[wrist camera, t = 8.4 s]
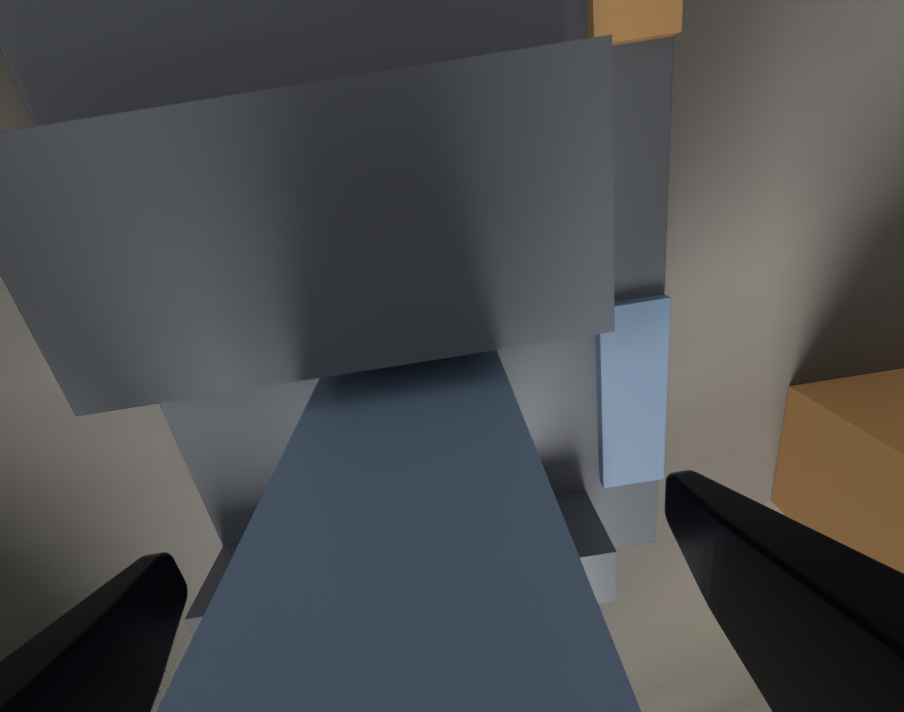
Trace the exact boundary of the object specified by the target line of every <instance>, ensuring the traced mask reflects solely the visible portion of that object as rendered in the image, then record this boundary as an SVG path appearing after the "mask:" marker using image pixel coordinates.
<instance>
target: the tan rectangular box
mask: <svg viewBox="0 0 904 712" xmlns="http://www.w3.org/2000/svg"><path fill="white" fill-rule="evenodd" d="M771 501H772V502H773V503H774V504H775V505H776V506H777V507H778V508H779V509H780V510H781V511H782V512H783V513H784V514H785V515H786V516H787V517H789V518H791V519H793V520H795V521H797V522H799V523H801V524H803V525H805V526H807V527H809V528H811V529H813V530H815V531H817V532H819V533H822V534H824V535H826V536H828V537H830V538H832V539H834V540H836V541H838V542H840V543H842V544H844V545H846V546H848V547H850V548H852V549H854V550H856V551H858V552H860V553H862V554H864V555H867V556H869V557H871V558H873V559H875V560H877V561H879V562H881V563H883V564H885V565H887V566H889V567H891V568H893V569H895V570H897V571H899V572H901V573H903V574H904V368H901V369H895V370H889V371H882V372H876V373H870V374H863V375H857V376H851V377H844V378H838V379H832V380H825V381H819V382H813V383H806V384H800V385H794V386H789V390H788V396H787V403H786V409H785V415H784V422H783V428H782V435H781V441H780V448H779V454H778V460H777V467H776V473H775V480H774V486H773V493H772V499H771Z"/></svg>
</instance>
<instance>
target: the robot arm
mask: <svg viewBox="0 0 904 712" xmlns="http://www.w3.org/2000/svg"><path fill="white" fill-rule="evenodd" d="M665 515H666V519H667V522H668V524H669V526H670V528H671V531H672V533H673V535H674V537H675V539H676V541H677V543H678V545H679V547H680V549H681V551H682V553H683V555H684V557H685V560H686V562H687V564H688V566H689V568H690V570H691V572H692V574H693V576H694V578H695V580H696V582H697V584H698V587H699V589H700V591H701V593H702V595H703V597H704V599H705V600H706V602H707V604H708V606H709V608H710V610H711V611H712V613H713V615H714V617H715V618H716V620H717V622H718V623H719V625H720V626H721V628H722V630H723V631H724V633H725V635H726V636H727V638H728V640H729V641H730V643H731V644H732V646H733V648H734V649H735V651H736V653H737V654H738V656H739V658H740V659H741V661H742V662H743V664H744V666H745V667H746V669H747V671H748V672H749V674H750V676H751V677H752V679H753V680H754V682H755V684H756V685H757V687H758V689H759V690H760V692H761V694H762V695H763V697H764V698H765V700H766V702H767V703H768V705H769V707H770V708H771V710H772V712H904V574H903V573H901V572H899V571H897V570H895V569H893V568H891V567H889V566H887V565H885V564H883V563H881V562H879V561H877V560H875V559H873V558H871V557H869V556H867V555H864V554H862V553H860V552H858V551H856V550H854V549H852V548H850V547H848V546H846V545H844V544H842V543H840V542H838V541H836V540H834V539H832V538H830V537H828V536H826V535H824V534H822V533H819V532H817V531H815V530H813V529H811V528H809V527H807V526H805V525H803V524H801V523H799V522H797V521H795V520H793V519H791V518H789V517H787V516H785V515H783V514H781V513H779V512H776V511H774V510H772V509H770V508H768V507H766V506H764V505H762V504H760V503H758V502H756V501H754V500H752V499H750V498H748V497H746V496H744V495H742V494H740V493H738V492H736V491H734V490H731V489H729V488H727V487H725V486H723V485H721V484H719V483H717V482H715V481H713V480H711V479H709V478H707V477H705V476H703V475H701V474H699V473H697V472H694V471H691V470H686V471H680V472H673V473H670V474H669V475H668V476H667V478H666V488H665ZM186 599H187V585H186V582H185V580H184V578H183V576H182V574H181V572H180V570H179V568H178V566H177V564H176V562H175V560H174V558H173V557H172V556H171V555H170V554H169V553H157V554H151V555H146V556H143V557H141V558H139V559H138V560H137V561H135V562H134V563H133V564H131V565H130V566H129V567H127V568H126V569H124V570H123V571H122V572H120V573H119V574H118V575H116V576H115V577H114V578H112V579H111V580H110V581H108V582H107V583H106V584H104V585H103V586H102V587H100V588H99V589H98V590H96V591H95V592H93V593H92V594H91V595H89V596H88V597H87V598H85V599H84V600H83V601H81V602H80V603H79V604H77V605H76V606H75V607H73V608H72V609H71V610H69V611H68V612H67V613H65V614H64V615H62V616H61V617H60V618H58V619H57V620H56V621H54V622H53V623H52V624H50V625H49V626H48V627H46V628H45V629H44V630H42V631H41V632H40V633H38V634H37V635H36V636H34V637H33V638H31V639H30V640H29V641H27V642H26V643H25V644H23V645H22V646H21V647H19V648H18V649H17V650H15V651H14V652H13V653H11V654H10V655H9V656H7V657H6V658H5V659H3V660H2V661H0V712H150V711H151V709H152V706H153V704H154V701H155V698H156V696H157V693H158V690H159V687H160V684H161V681H162V678H163V675H164V672H165V669H166V665H167V662H168V659H169V656H170V652H171V649H172V646H173V642H174V639H175V636H176V633H177V629H178V626H179V623H180V619H181V616H182V613H183V610H184V606H185V603H186Z"/></svg>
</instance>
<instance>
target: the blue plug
mask: <svg viewBox="0 0 904 712" xmlns="http://www.w3.org/2000/svg"><path fill="white" fill-rule="evenodd" d="M157 712H641V710H640V707H639V705H638V702H637V700H636V697H635V695H634V692H633V690H632V687H631V685H630V682H629V680H628V677H627V675H626V672H625V670H624V667H623V665H622V662H621V660H620V657H619V655H618V652H617V650H616V647H615V645H614V642H613V640H612V637H611V635H610V632H609V630H608V627H607V625H606V622H605V620H604V617H603V615H602V612H601V610H600V607H599V605H598V602H597V600H596V597H595V595H594V592H593V590H592V587H591V585H590V582H589V580H588V577H587V575H586V572H585V570H584V567H583V565H582V562H581V560H580V557H579V555H578V552H577V550H576V547H575V545H574V542H573V540H572V537H571V535H570V532H569V530H568V527H567V525H566V522H565V520H564V517H563V515H562V512H561V510H560V507H559V505H558V502H557V500H556V497H555V495H554V492H553V490H552V487H551V485H550V482H549V480H548V477H547V475H546V472H545V470H544V467H543V465H542V462H541V460H540V457H539V455H538V452H537V450H536V447H535V445H534V442H533V440H532V437H531V435H530V432H529V430H528V427H527V425H526V422H525V420H524V417H523V415H522V412H521V410H520V407H519V405H518V402H517V400H516V397H515V394H514V392H513V389H512V387H511V384H510V382H509V379H508V377H507V374H506V372H505V369H504V367H503V364H502V362H501V359H500V357H499V354H498V352H497V350H494V351H488V352H481V353H475V354H468V355H462V356H456V357H449V358H443V359H437V360H430V361H424V362H418V363H411V364H405V365H399V366H392V367H386V368H380V369H373V370H367V371H361V372H354V373H348V374H342V375H335V376H329V377H322V378H320V379H319V381H318V383H317V385H316V387H315V389H314V391H313V393H312V395H311V397H310V399H309V401H308V403H307V405H306V407H305V409H304V411H303V413H302V415H301V417H300V420H299V422H298V424H297V426H296V428H295V430H294V432H293V434H292V436H291V438H290V440H289V442H288V444H287V446H286V448H285V450H284V452H283V454H282V456H281V458H280V460H279V462H278V464H277V467H276V469H275V471H274V473H273V475H272V477H271V479H270V481H269V483H268V485H267V487H266V489H265V491H264V493H263V495H262V497H261V499H260V501H259V503H258V505H257V507H256V509H255V511H254V514H253V516H252V518H251V520H250V522H249V524H248V526H247V528H246V530H245V532H244V534H243V536H242V538H241V540H240V542H239V544H238V546H237V548H236V550H235V552H234V554H233V556H232V559H231V561H230V563H229V565H228V567H227V569H226V571H225V573H224V575H223V577H222V579H221V581H220V583H219V585H218V587H217V589H216V591H215V593H214V595H213V597H212V599H211V601H210V603H209V606H208V608H207V610H206V612H205V614H204V616H203V618H202V620H201V622H200V624H199V626H198V628H197V630H196V632H195V634H194V636H193V638H192V640H191V642H190V644H189V646H188V648H187V650H186V653H185V655H184V657H183V659H182V661H181V663H180V665H179V667H178V669H177V671H176V673H175V675H174V677H173V679H172V681H171V683H170V685H169V687H168V689H167V691H166V693H165V695H164V697H163V700H162V702H161V704H160V706H159V708H158V710H157Z"/></svg>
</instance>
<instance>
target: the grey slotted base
mask: <svg viewBox="0 0 904 712" xmlns="http://www.w3.org/2000/svg"><path fill="white" fill-rule="evenodd" d="M682 10H683V0H0V49H1V51H2V53H3V55H4V58H5V60H6V62H7V64H8V67H9V69H10V71H11V73H12V76H13V78H14V80H15V82H16V84H17V87H18V89H19V91H20V93H21V96H22V98H23V100H24V102H25V105H26V107H27V109H28V111H29V113H30V116H31V118H32V120H33V122H34V125H35V126H34V127H28V128H21V129H15V130H9V131H3V132H0V275H1V277H2V279H3V281H4V283H5V285H6V287H7V288H8V290H9V292H10V294H11V296H12V298H13V300H14V301H15V303H16V305H17V307H18V309H19V311H20V313H21V315H22V316H23V318H24V320H25V322H26V324H27V326H28V328H29V330H30V331H31V333H32V335H33V337H34V339H35V341H36V343H37V344H38V346H39V348H40V350H41V352H42V354H43V356H44V358H45V359H46V361H47V363H48V365H49V367H50V369H51V371H52V373H53V374H54V376H55V378H56V380H57V382H58V384H59V386H60V387H61V389H62V391H63V393H64V395H65V397H66V399H67V401H68V402H69V404H70V406H71V408H72V410H73V412H74V414H75V416H81V415H88V414H94V413H100V412H107V411H113V410H119V409H126V408H132V407H138V406H145V405H151V404H157V403H159V404H160V406H161V408H162V410H163V413H164V415H165V417H166V419H167V422H168V424H169V426H170V428H171V431H172V433H173V435H174V437H175V439H176V442H177V444H178V446H179V448H180V451H181V453H182V455H183V457H184V460H185V462H186V464H187V466H188V468H189V471H190V473H191V475H192V477H193V480H194V482H195V484H196V486H197V489H198V491H199V493H200V495H201V497H202V500H203V502H204V504H205V506H206V509H207V511H208V513H209V515H210V518H211V520H212V522H213V524H214V527H215V529H216V531H217V533H218V535H219V538H220V540H221V542H222V544H223V547H222V549H221V551H220V553H219V555H218V557H217V559H216V561H215V563H214V565H213V566H212V568H211V570H210V572H209V574H208V576H207V578H206V580H205V582H204V583H203V585H202V587H201V589H200V591H199V593H198V595H197V597H196V599H195V601H194V602H193V604H192V606H191V608H190V610H189V612H188V614H187V616H186V618H185V621H186V623H187V625H188V627H189V629H190V630H191V632H192V634H193V636H194V634H195V632H196V630H197V628H198V626H199V624H200V622H201V620H202V618H203V616H204V614H205V612H206V610H207V608H208V606H209V603H210V601H211V599H212V597H213V595H214V593H215V591H216V589H217V587H218V585H219V583H220V581H221V579H222V577H223V575H224V573H225V571H226V569H227V567H228V565H229V563H230V561H231V559H232V556H233V554H234V552H235V550H236V548H237V546H238V544H239V542H240V540H241V538H242V536H243V534H244V532H245V530H246V528H247V526H248V524H249V522H250V520H251V518H252V516H253V514H254V511H255V509H256V507H257V505H258V503H259V501H260V499H261V497H262V495H263V493H264V491H265V489H266V487H267V485H268V483H269V481H270V479H271V477H272V475H273V473H274V471H275V469H276V467H277V464H278V462H279V460H280V458H281V456H282V454H283V452H284V450H285V448H286V446H287V444H288V442H289V440H290V438H291V436H292V434H293V432H294V430H295V428H296V426H297V424H298V422H299V420H300V417H301V415H302V413H303V411H304V409H305V407H306V405H307V403H308V401H309V399H310V397H311V395H312V393H313V391H314V389H315V387H316V385H317V383H318V381H319V379H320V378H322V377H329V376H335V375H342V374H348V373H354V372H361V371H367V370H373V369H380V368H386V367H392V366H399V365H405V364H411V363H418V362H424V361H430V360H437V359H443V358H449V357H456V356H462V355H468V354H475V353H481V352H488V351H494V350H497V352H498V354H499V357H500V359H501V362H502V364H503V367H504V369H505V372H506V374H507V377H508V379H509V382H510V384H511V387H512V389H513V392H514V394H515V397H516V400H517V402H518V405H519V407H520V410H521V412H522V415H523V417H524V420H525V422H526V425H527V427H528V430H529V432H530V435H531V437H532V440H533V442H534V445H535V447H536V450H537V452H538V455H539V457H540V460H541V462H542V465H543V467H544V470H545V472H546V475H547V477H548V480H549V482H550V485H551V487H552V490H553V492H554V495H555V497H556V500H557V502H558V505H559V507H560V510H561V512H562V515H563V517H564V520H565V522H566V525H567V527H568V530H569V532H570V535H571V537H572V540H573V542H574V545H575V547H576V550H577V552H578V555H579V557H580V560H581V562H582V565H583V567H584V570H585V572H586V575H587V577H588V580H589V582H590V585H591V587H592V590H593V592H594V595H595V597H596V600H597V602H598V604H603V603H610V602H616V601H617V552H616V550H615V548H619V547H625V546H632V545H638V544H644V543H651V542H656V517H657V488H658V480H660V479H663V477H664V452H665V427H666V403H667V378H668V354H669V329H670V305H671V297H669V296H667V295H665V294H664V288H665V259H666V230H667V202H668V173H669V144H670V116H671V87H672V58H673V36H674V35H676V34H678V33H680V32H682Z"/></svg>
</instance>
